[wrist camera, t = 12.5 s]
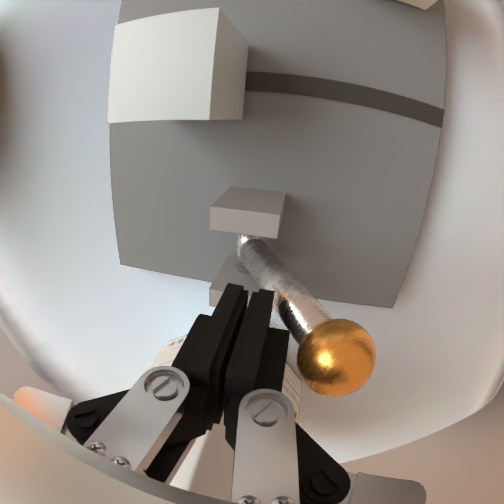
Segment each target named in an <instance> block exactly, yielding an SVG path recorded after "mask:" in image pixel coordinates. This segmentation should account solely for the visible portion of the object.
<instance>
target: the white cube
mask: <svg viewBox="0 0 504 504" xmlns="http://www.w3.org/2000/svg"><path fill="white" fill-rule="evenodd" d="M248 47H249V43H248V41H247V40H246V39H245V38H244V36H243V35H242V34H241V33H240V31H239V30H238V29H237V28H236V26H235V25H234V24H233V23H232V22H231V20H230V19H229V18H228V17H227V16H226V15H225V13H224V12H223V11H222V10H221V9H220V8H219V7H218V8H206V9H196V10H187V11H180V12H173V13H167V14H161V15H156V16H151V17H146V18H142V19H137V20H133V21H129V22H125V23H121V24H118V25H115V31H114V38H113V46H112V54H111V64H110V75H109V90H108V117H107V123H118V122H131V121H150V120H242V118H243V105H244V93H245V81H246V69H247V58H248Z"/></svg>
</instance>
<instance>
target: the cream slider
mask: <svg viewBox="0 0 504 504" xmlns="http://www.w3.org/2000/svg"><path fill="white" fill-rule="evenodd" d="M398 1H401V2H404V3H407V4H410V5H413V6H416V7H418V8H421V9H424V10H426V9H428V8H429V7H430V6H431V5H433V4H434V3H435V2H436V1H438V0H398Z"/></svg>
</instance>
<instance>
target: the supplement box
mask: <svg viewBox="0 0 504 504" xmlns="http://www.w3.org/2000/svg"><path fill="white" fill-rule="evenodd" d="M186 337H187V335H185V336H182V337H179V338H177V339H174V340H171V341H168V342H166V343H165V345H164V346H163V348H162V350H161V352H160V353H159V355H158V357H157V359H156V360H155V362H154V364H153V365H152V367H151V368H154V367H158V366H171V365H172V363H173V361H174V359H175V357H176V355H177V353H178V352H179V350H180V348H181V346H182V344H183V342H184V340H185V339H186ZM301 384H302V382H301V381H300V380H299V378H298V377H297V376H296V374H295V373H294V372H293V371H292V369H291V368H290V367H289V366H288V364H287V363H286V365H285V372H284V379H283V386H282V393H283V394H284V395H285V396H287V397H288V398H289V399H290V401H291V402H292V404H293V407H294V413H295V422H296V423H297V424H298V418H299V408H300V396H301ZM233 459H234V450H233V449H232V448H231V446H230V445H229V444H228V442H227V441H226V440H225V426H224V412H223V415H222V418H221V421H220V424H215V423H214V424H213V427H212V430H211V431H210V430H207V431H206V434H205V435H202V436H200V437H197V438H196V441H195V443H194V445H193V447H192V448H191V450H190V452H189V453H188V455H187V457H186V458H185V460H184V462H183V463H182V465H181V467H180V468H179V470H178V471H177V473H176V475H175V476H174V478H173V480H172V481H171V483H170V484H169V485H171V486H174V487H177V488H180V489H184V490H187V491H190V492H194V493H197V494H201V495H205V496H209V497H213V498H217V499H221V500H226V501H230V496H231V484H232V472H233Z"/></svg>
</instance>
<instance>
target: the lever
mask: <svg viewBox="0 0 504 504" xmlns="http://www.w3.org/2000/svg"><path fill="white" fill-rule="evenodd" d="M236 269H237V270H238V271H239V272H242V273H247V274H251V275H252V277H253V278H254V280H255V281H256V283H257V284H258V286H259V287H260V289H266V290H272V291H275V293H274V300H273V306H272V307H273V308H274V309H275V311H276V312H277V314H278V315H279V317H280V318H281V320H282V321H283V323H284V324H285V326H286V327H287V328H288V330H289V331H290V333H291V334H292V336H293V337H294V339H295V340H296V342H297V343H298V345H299V348H298V352H297V367H298V371H299V374H300V376H301V378H302V380H303V381H304V383H305V384H306V385H307V386H308V387H309V388H310V389H312V390H313V391H315V392H317V393H319V394H321V395H324V396H330V397H339V396H344V395H347V394H350V393H352V392H354V391H356V390H357V389H359V388H360V387H361V386H362V385H363V384H364V383H365V382H366V381H367V380H368V378H369V377H370V375H371V373H372V371H373V369H374V365H375V360H376V351H375V346H374V343H373V340H372V338H371V337H370V335H369V334H368V332H367V331H366V330H365V329H364V328H363V327H362V326H360V325H359V324H357V323H355V322H353V321H350V320H346V319H333V318H332V317H331V316H330V314H329V313H328V312H327V311H326V310H325V309H324V308H323V307H322V305H321V304H320V303H319V302H318V301H317V300H316V299H315V298H314V296H313V295H312V294H311V293H310V292H309V291H308V290H307V289H306V287H305V286H304V285H303V284H302V283H301V282H300V281H299V280H298V278H297V277H296V276H295V275H294V274H293V273H292V272H291V271H290V270H289V268H288V267H287V266H286V265H285V264H284V263H283V262H282V261H281V260H280V258H279V257H278V256H277V255H276V254H275V253H274V252H273V251H272V250H271V249H270V247H269V246H268V245H267V244H266V243H265V242H264V241H263V240H262V237H261V236H254V235H247V234H240V233H238V235H237V252H236Z"/></svg>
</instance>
